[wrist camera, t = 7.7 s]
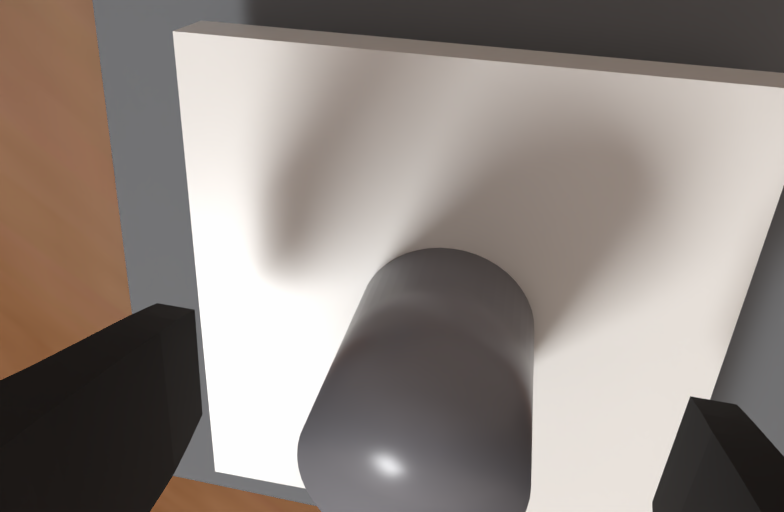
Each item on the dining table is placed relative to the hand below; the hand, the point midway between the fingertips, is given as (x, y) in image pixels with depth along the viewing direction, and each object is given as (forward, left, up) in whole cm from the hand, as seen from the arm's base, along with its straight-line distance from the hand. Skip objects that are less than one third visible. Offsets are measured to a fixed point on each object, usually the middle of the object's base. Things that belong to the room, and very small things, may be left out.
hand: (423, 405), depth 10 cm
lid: (0, 0, -4) cm, 4 cm away
